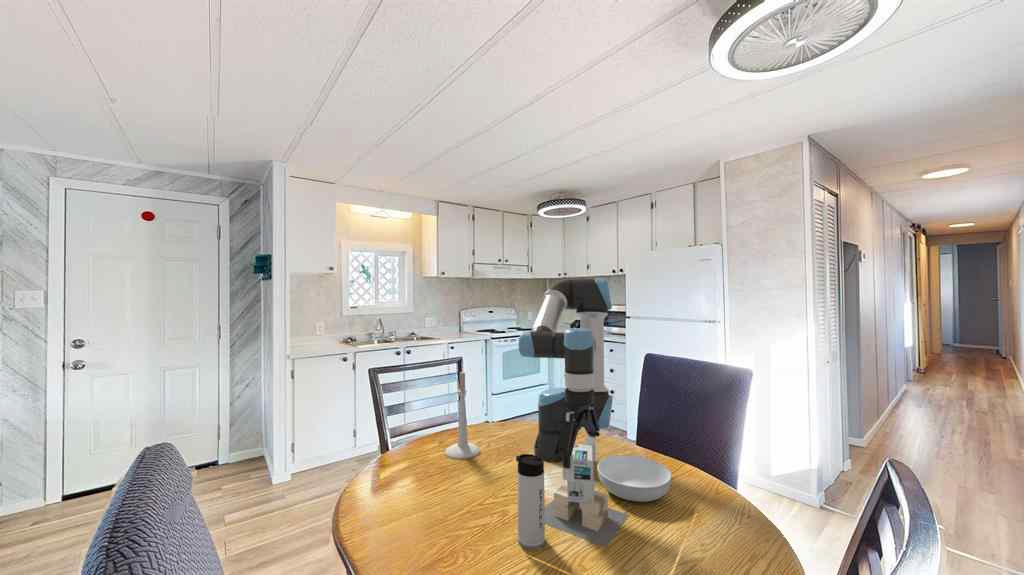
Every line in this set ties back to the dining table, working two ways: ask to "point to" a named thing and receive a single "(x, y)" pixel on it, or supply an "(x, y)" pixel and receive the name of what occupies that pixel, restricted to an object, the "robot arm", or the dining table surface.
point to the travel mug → (531, 501)
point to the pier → (595, 511)
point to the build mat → (577, 529)
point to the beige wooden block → (564, 504)
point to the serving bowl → (634, 477)
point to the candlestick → (462, 431)
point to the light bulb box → (582, 475)
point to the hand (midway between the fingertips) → (580, 469)
